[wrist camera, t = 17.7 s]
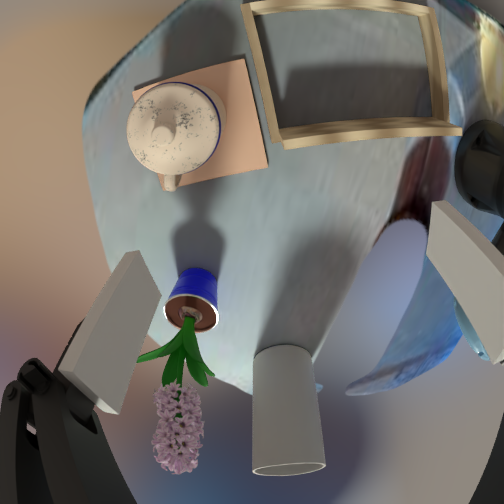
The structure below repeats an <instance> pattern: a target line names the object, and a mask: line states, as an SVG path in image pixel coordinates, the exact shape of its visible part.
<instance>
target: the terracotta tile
mask: <svg viewBox="0 0 504 504" xmlns="http://www.w3.org/2000/svg"><path fill="white" fill-rule="evenodd" d="M167 82H184V83H188V84H199V85H203V86H206V87H208V88H210V89H211V90H213V91H214V92H215V93H216V94H217V95H218V96H219V97H220V98H221V100H222V102H223V104H224V106H225V110H226V125H225V128H224V131H223V133H222V135H221V136H220V140H219V143H218V145H217V148H216V150H215V151H214V153H213V154H212V156H211V157H210V158H209V159H208V161H207V162H205V163H204V164H203V165H202V166H200V167H199V168H197V169H196V170H193V171H191V172H189V173H185V174H182V178H181V181H180V183H179V186H178V187H180V186H184V185H188V184H192V183H196V182H200V181H205V180H209V179H214V178H218V177H223V176H227V175H232V174H237V173H242V172H247V171H252V170H257V169H262V168H268V164H267V159H266V154H265V149H264V144H263V140H262V135H261V130H260V126H259V121H258V116H257V112H256V107H255V103H254V98H253V94H252V89H251V85H250V81H249V76H248V72H247V68H246V64H245V60H244V59H240V60H235V61H230V62H226V63H221V64H217V65H213V66H209V67H206V68H202V69H198V70H195V71H191V72H188V73H185V74H181V75H178V76H175V77H172V78H169V79H166V80H163V81H160V82H157V83H155V84H152V85H149V86H147V87H144V88H141V89H139V90H136V91H134V92H132V94H133V97H134V101H135V103H136V101H137V100H138V99H139V98H140V96H141V95H143V94H144V93H145V92H146V91H147V90H149V89H151V88H152V87H154V86H157V85H159V84H162V83H167ZM157 174H158V177H159V180H160V183H161V186H162V188H163V191H164V190H166V189H165V187H164V174H160V173H157Z"/></svg>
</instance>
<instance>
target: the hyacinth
mask: <svg viewBox="0 0 504 504" xmlns="http://www.w3.org/2000/svg"><path fill="white" fill-rule="evenodd" d="M217 308H218V306H217V281H216V279H215V277H214V276H213V275H212V274H211V273H210V272H208V271H207V270H204V269H201V268H190V269H187V270H185V271H184V272H182V274H181V275H180V277H179V279H178V281H177V283H176V285H175V287H174V288H173V290H172V292H171V294H170V296H169V298H168V300H167V301H166V303H165V305H164V309H163V310H164V315H165V317H166V319H167V320H168V322H169V323H170V324H171V325H173V326H174V327H176V328H178V329H179V330H180V331H179V332H178V333H177V335H176V336H175V337H174V338H173V339H172V340H171V341H170V342H168V343H167V344H166V345H164V346H162V347H161V348H159V349H156V350H154V351H151V352H148V353H146V354H143V355H141V356H139V357H138V359H137V362H136V363H139V362H144V361H148V360H152V359H155V358H158V357H163V356H166V355H169V354H170V357H169V359H168V361H167V364H166V366H165V369H164V372H163V376H162V384H161V388H159V389H158V391H159V392H156V390H154V392H155V394H154V393H153V397H154V398H155V399H154V400H153V402H154V403H155V402H156V401H157V403H158V402H159V403H160V404H159V405H158V404H157V403H156V405H157V407H158V410H157V414H158V415H159V416H160V418H161V419H160V420H159V422H158V425H157V429H158V430H156V434H158V436H157V437H156V434H155V435H153V438H154V439H155V440H152V444H153V445H155V446H154V447H153V451H154V449H155V448H156V449H157V452H158V453H159V454H158V457H156V456H154V457H155V458H157V459H156V461H157V462H159V463H162V464H161V467H162V468H163V469H165V470H166V468H165V465H166V466H169V470H171V471H173V470H174V472H175V473H173V474H176V473H177V474H181V473H182V472H185V471H187V470H186V469H188V471H189V472H192V469H193V468H196V467H197V464H198V462H197V461H198V460H196V461H195V459H196V458H197V457H196V456H199V454H197V453H198V449H196V448H200V447H202V445H203V444H201V445H199V444H200V441H199V443H198V444H197V440H199V434H202V436H203V430H202V428H203V424H204V423H203V422H202V421H200V419H201V414H202V413H201V409H200V403H201V401H198V400H199V399H200V396H199V395H198V393H197V391H196V389H195V388H194V387H193V388H192V385H191V384H190V385H189V384H188V385H189V388H188V389H187V388H186V387H185V386H183V389H182V388H181V387H182V375H183V366H184V360H185V357H186V363H187V366H188V369H189V372H190V374H191V375H192V377H193V378H194V379H195V381H197V382H198V383H199V384H201V385H202V386H205V387H206V386H208V381H207V378H206V374H205V372H206V373H207V374H208V375H210V376H215V374H214V373H212V372H211V371H210V370H209V368H208V367H207V366H206V364H205V363H204V362H203V359H202V357H201V354H200V351H199V347H198V343H197V338H196V335H195V333H203V332H207V331H209V330H211V329H212V328H214V327H215V326H216V324H217V322H218V318H219V315H218V309H217ZM176 378H177V382H176V386H174V384H173V382H174V381H175V379H176ZM165 388H168V389H169V390H168V391H167V392H166V391H164V389H165ZM190 393H192V394H190ZM190 399H193V400H190ZM159 400H160V401H159ZM195 404H196V405H195ZM181 415H182V416H181ZM180 417H182V419H181V418H180ZM159 423H161V424H159ZM191 424H192V425H191ZM197 424H198V425H197ZM199 425H200V426H199ZM189 437H190V438H189ZM160 438H162V439H160ZM188 439H189V440H188ZM157 446H159V447H157ZM158 449H159V450H158ZM165 454H166V455H165ZM163 456H165V457H163ZM189 457H192V458H191V459H189ZM183 466H184V467H183Z"/></svg>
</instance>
